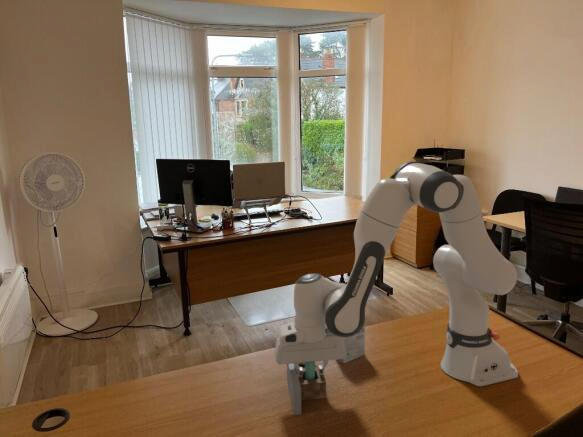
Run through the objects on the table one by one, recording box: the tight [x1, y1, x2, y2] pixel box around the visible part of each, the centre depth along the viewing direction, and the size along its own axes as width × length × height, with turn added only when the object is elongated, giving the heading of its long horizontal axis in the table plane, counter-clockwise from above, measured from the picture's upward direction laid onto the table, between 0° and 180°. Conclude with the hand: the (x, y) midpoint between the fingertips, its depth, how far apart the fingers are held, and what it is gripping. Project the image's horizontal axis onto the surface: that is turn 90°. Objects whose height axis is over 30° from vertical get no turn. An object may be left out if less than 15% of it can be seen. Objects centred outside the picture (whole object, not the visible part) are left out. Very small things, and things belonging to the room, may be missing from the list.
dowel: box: [304, 361, 316, 380], centre depth 126 cm, size 3×3×9 cm
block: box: [298, 366, 327, 401], centre depth 127 cm, size 8×8×5 cm
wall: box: [286, 363, 302, 416], centre depth 125 cm, size 2×18×8 cm, turn 7°
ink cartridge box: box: [336, 322, 366, 364], centre depth 144 cm, size 10×6×14 cm, turn 124°
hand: (310, 373), depth 126 cm, fingers open, 5 cm apart
